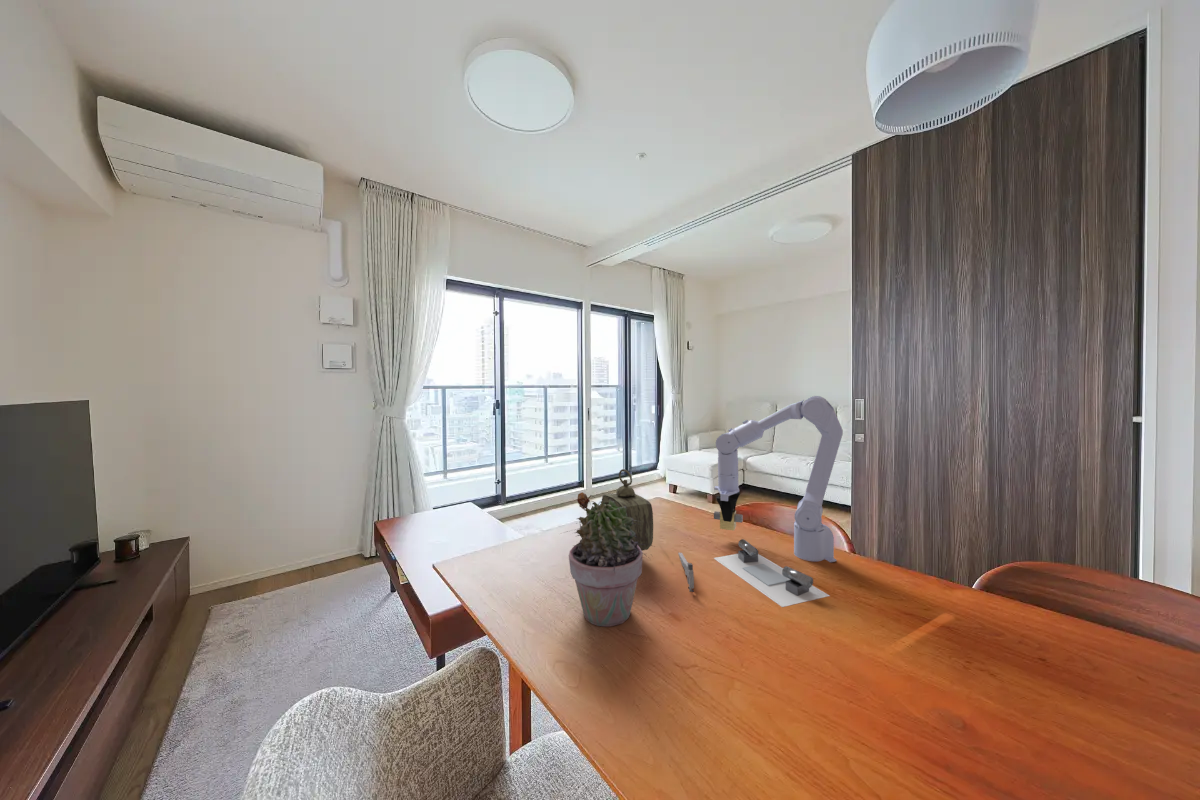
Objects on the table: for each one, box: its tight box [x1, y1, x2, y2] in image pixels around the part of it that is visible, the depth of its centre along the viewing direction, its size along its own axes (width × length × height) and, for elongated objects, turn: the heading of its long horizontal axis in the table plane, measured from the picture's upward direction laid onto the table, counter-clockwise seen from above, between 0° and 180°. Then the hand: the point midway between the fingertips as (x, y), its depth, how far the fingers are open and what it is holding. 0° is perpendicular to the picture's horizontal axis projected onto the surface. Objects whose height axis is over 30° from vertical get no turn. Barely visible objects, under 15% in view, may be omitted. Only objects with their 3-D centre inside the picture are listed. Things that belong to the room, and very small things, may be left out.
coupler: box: [713, 509, 744, 531], centre depth 118 cm, size 4×8×5 cm, turn 63°
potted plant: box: [559, 491, 657, 628], centre depth 83 cm, size 18×20×25 cm
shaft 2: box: [782, 565, 814, 596], centre depth 90 cm, size 6×4×4 cm, turn 28°
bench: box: [713, 553, 831, 608], centre depth 97 cm, size 13×25×1 cm, turn 18°
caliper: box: [677, 552, 695, 593], centre depth 102 cm, size 20×1×6 cm, turn 177°
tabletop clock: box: [601, 468, 654, 552], centre depth 109 cm, size 14×9×25 cm, turn 25°
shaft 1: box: [737, 538, 759, 563], centre depth 106 cm, size 6×4×4 cm, turn 8°
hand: (728, 518), depth 118 cm, fingers closed on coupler, 4 cm apart
